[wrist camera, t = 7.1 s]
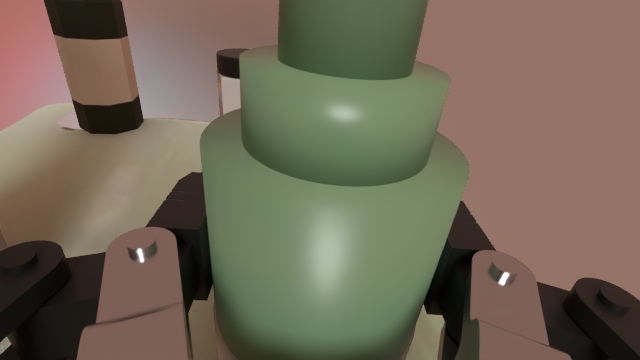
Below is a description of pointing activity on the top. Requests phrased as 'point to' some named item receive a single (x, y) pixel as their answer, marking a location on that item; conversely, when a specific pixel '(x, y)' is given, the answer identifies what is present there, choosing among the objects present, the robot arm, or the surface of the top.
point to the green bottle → (330, 186)
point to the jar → (228, 79)
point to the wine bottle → (97, 63)
